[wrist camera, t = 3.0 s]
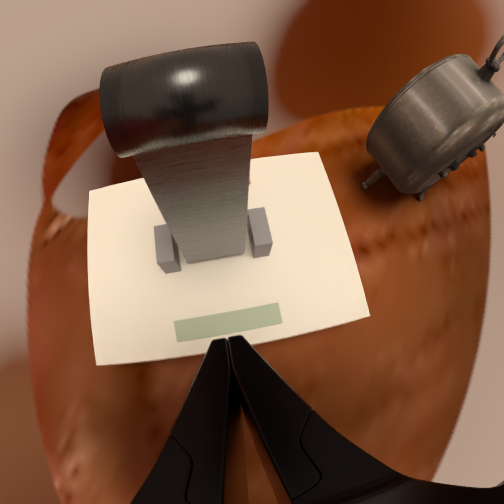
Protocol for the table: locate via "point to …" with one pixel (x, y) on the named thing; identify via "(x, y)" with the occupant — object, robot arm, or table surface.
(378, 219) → the table surface
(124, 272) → the switch box
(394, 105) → the alarm clock
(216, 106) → the breaker lever
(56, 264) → the table surface
